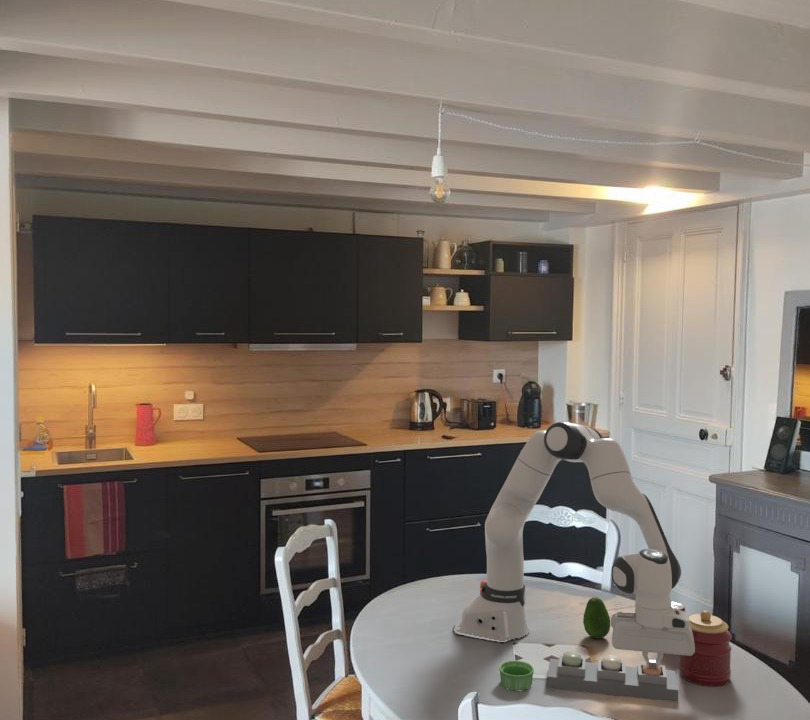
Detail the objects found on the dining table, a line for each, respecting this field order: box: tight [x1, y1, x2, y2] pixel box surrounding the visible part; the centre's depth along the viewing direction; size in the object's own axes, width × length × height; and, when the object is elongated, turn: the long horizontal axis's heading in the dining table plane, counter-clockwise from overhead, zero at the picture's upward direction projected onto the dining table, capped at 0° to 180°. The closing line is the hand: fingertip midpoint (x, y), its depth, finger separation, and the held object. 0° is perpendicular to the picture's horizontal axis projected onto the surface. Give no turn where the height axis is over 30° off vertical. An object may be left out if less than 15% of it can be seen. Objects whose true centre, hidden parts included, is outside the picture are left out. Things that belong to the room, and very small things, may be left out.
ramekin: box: [498, 660, 535, 691], centre depth 210 cm, size 9×9×4 cm
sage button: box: [562, 651, 582, 667], centre depth 212 cm, size 5×5×2 cm
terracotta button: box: [643, 663, 661, 675], centre depth 207 cm, size 5×5×2 cm
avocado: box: [582, 596, 611, 639], centre depth 239 cm, size 8×8×12 cm
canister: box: [678, 610, 733, 687], centre depth 214 cm, size 13×13×18 cm
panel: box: [546, 655, 679, 703], centre depth 209 cm, size 32×11×5 cm, turn 76°
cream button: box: [602, 654, 622, 671], centre depth 209 cm, size 5×5×2 cm
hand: (652, 667), depth 207 cm, fingers closed, pressing on terracotta button
